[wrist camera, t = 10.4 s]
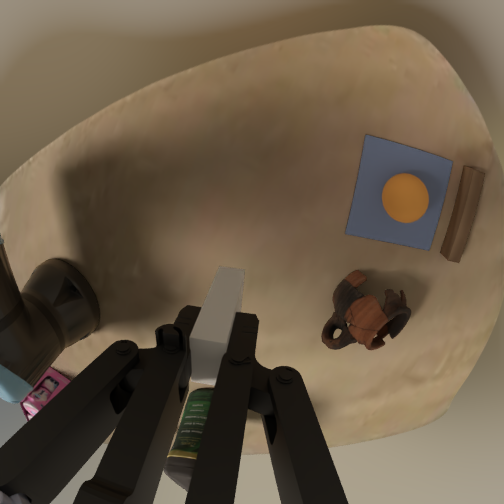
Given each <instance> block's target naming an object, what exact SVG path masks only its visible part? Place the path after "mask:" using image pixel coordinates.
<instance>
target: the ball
mask: <svg viewBox="0 0 504 504" xmlns="http://www.w3.org/2000/svg"><path fill="white" fill-rule="evenodd" d="M382 202H383V206H384V208H385V210H386V212H387V213H388V215H389V216H390V217H392V218H393V219H394V220H396V221H398V222H402V223H411V222H414V221H417V220H418V219H420V218H421V217H422V216H423V215H424V213H425V212H426V210H427V208H428V204H429V195H428V191H427V188H426V186H425V185H424V183H423V182H422V181H421V180H420V179H419V178H418V177H416V176H414V175H412V174H408V173H401V174H397V175H395V176H393V177H391V178H390V179H389V180H388V181H387V182H386V184H385V186H384V188H383V192H382Z"/></svg>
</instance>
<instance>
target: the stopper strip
mask: <svg viewBox="0 0 504 504" xmlns="http://www.w3.org/2000/svg"><path fill="white" fill-rule="evenodd" d="M484 177H485V173H483V172H480V171H478V170H476V169H473V168H470V167H467V166H464V168H463V172H462V177H461V181H460V186H459V190H458V194H457V198H456V202H455V206H454V209H453V213H452V217H451V220H450V223H449V227H448V230H447V233H446V236H445V240H444V243H443V246H442V249H441V252H440V253H441V254H442V255H443V256H444V257H445V258H446V259H447V260H448V261H452V262H457V263H459V262H460V259H461V257H462V254H463V251H464V248H465V245H466V242H467V239H468V236H469V233H470V230H471V227H472V223H473V220H474V217H475V213H476V209H477V206H478V202H479V198H480V194H481V190H482V186H483V181H484Z"/></svg>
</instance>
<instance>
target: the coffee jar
mask: <svg viewBox="0 0 504 504" xmlns="http://www.w3.org/2000/svg"><path fill="white" fill-rule="evenodd" d="M213 391H214V390H211V389H200V390H195V391H193V392H191V393H190V394H189V397H188V400H187V403H186V406H185V410H184V413H183V417H182V420H181V423H180V426H179V430H178V433H177V436H176V439H175V442H174V445H173V447H172V449H171V451H170V452H169V453H168V456H167V459H166V462H165V466H164V472H165V474H166V475H168V476H169V477H170V478H171V479H172V480H173V481H174V482H176V483H177V484H178V485H179V486H181V487H182V488H184V489H185V490H186V491H187V492H188V489H189V485H190V481H191V478H192V474H193V470H194V466H195V462H196V458H197V454H198V450H199V446H200V442H201V438H202V434H203V430H204V426H205V422H206V419H207V415H208V411H209V407H210V403H211V399H212V395H213Z"/></svg>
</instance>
